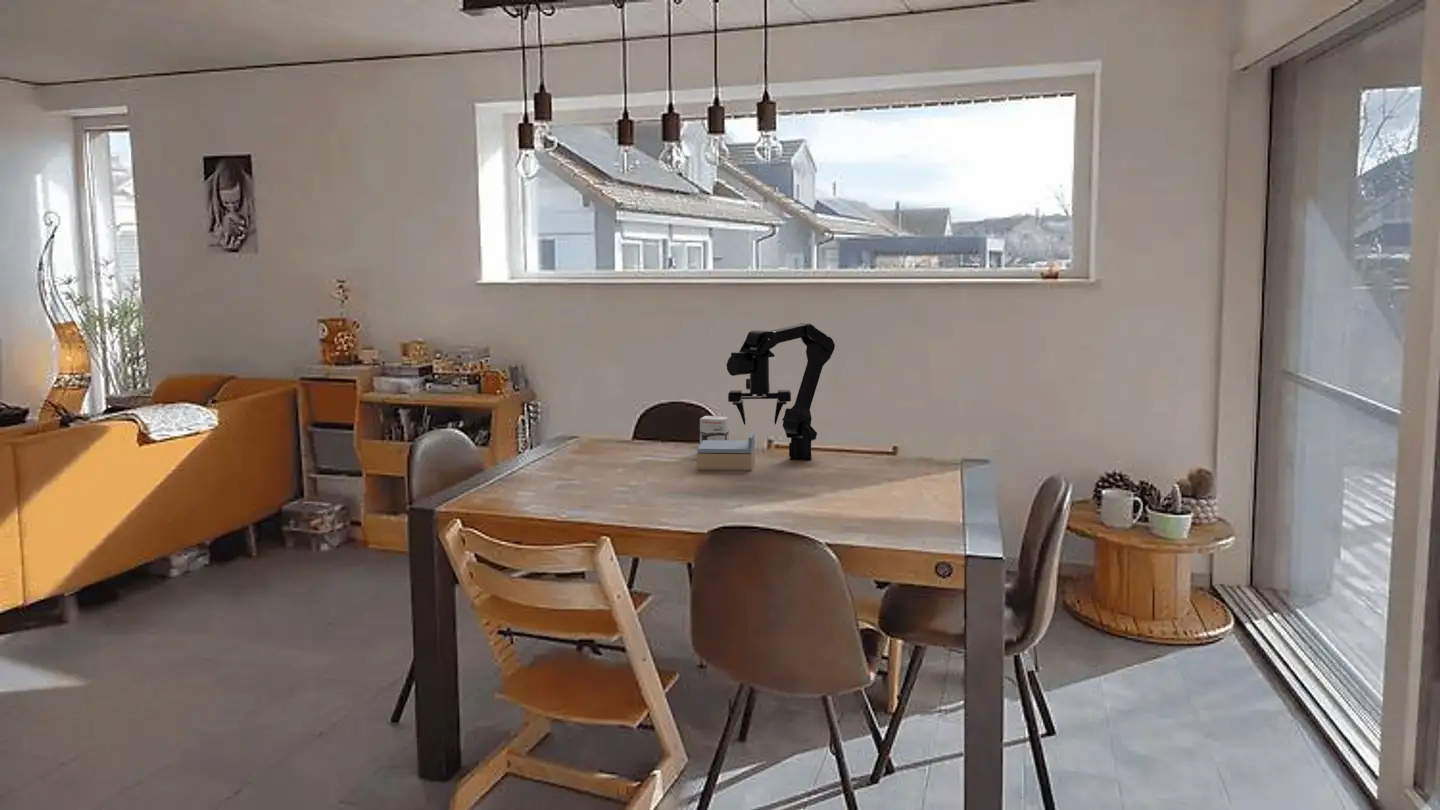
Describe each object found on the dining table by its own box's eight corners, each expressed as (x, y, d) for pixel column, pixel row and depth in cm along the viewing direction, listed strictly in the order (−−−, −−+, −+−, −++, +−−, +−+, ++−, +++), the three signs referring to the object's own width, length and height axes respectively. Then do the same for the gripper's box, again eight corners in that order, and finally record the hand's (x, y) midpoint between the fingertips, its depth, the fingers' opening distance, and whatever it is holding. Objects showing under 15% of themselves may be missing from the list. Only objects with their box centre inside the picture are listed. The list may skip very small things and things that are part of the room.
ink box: (699, 454, 335) (698, 418, 333) (704, 451, 339) (703, 415, 338) (724, 455, 332) (724, 419, 330) (729, 452, 337) (729, 416, 335)
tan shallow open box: (755, 461, 322) (754, 445, 322) (751, 470, 309) (751, 454, 308) (703, 460, 324) (703, 444, 323) (697, 470, 310) (697, 453, 310)
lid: (754, 444, 322) (754, 431, 321) (751, 453, 308) (751, 439, 307) (703, 444, 323) (703, 430, 323) (697, 452, 310) (697, 438, 309)
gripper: (790, 369, 320) (790, 419, 322) (729, 369, 321) (730, 420, 323) (790, 373, 309) (791, 425, 311) (727, 374, 310) (728, 426, 313)
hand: (759, 424), depth 315 cm, fingers open, 9 cm apart
